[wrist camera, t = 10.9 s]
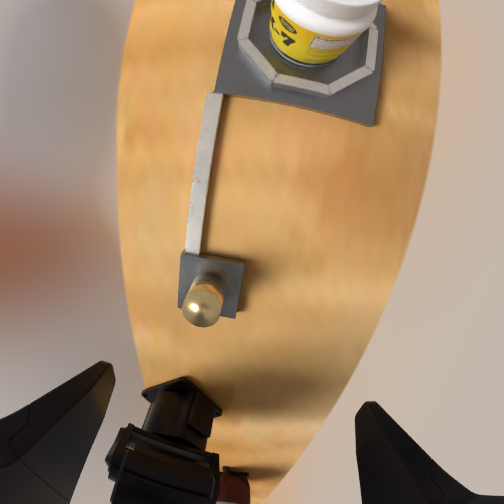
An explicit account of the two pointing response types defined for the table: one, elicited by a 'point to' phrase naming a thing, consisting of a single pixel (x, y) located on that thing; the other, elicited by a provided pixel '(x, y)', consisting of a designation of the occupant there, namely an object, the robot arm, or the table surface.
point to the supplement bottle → (318, 28)
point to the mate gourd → (233, 488)
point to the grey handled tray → (276, 91)
